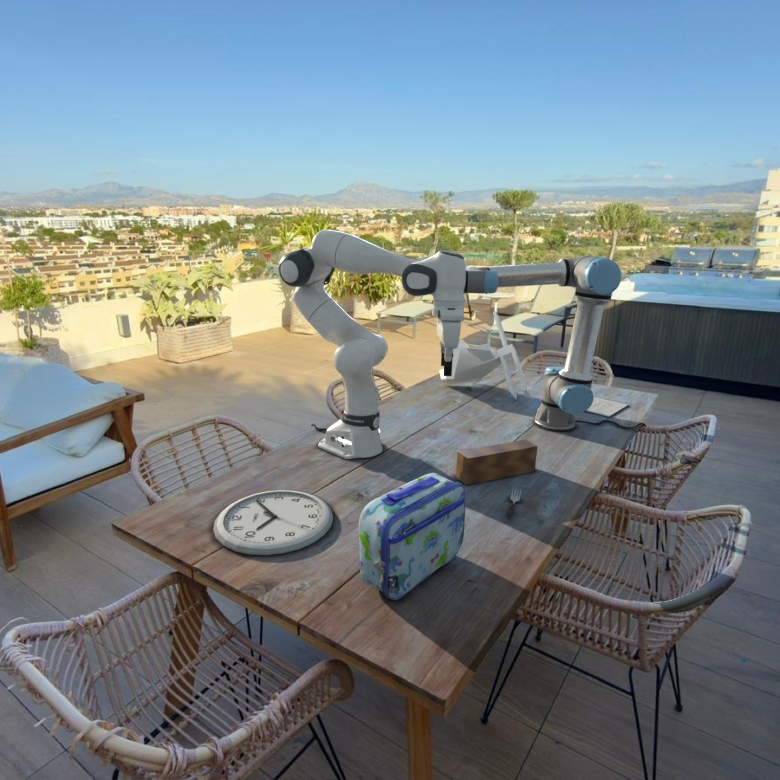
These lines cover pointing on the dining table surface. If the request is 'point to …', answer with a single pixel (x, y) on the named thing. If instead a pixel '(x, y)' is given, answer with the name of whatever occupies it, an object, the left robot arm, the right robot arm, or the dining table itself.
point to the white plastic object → (483, 362)
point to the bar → (496, 461)
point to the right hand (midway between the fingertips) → (446, 370)
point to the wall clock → (273, 522)
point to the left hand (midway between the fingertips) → (445, 357)
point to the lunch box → (410, 533)
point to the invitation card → (605, 407)
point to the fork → (514, 499)
